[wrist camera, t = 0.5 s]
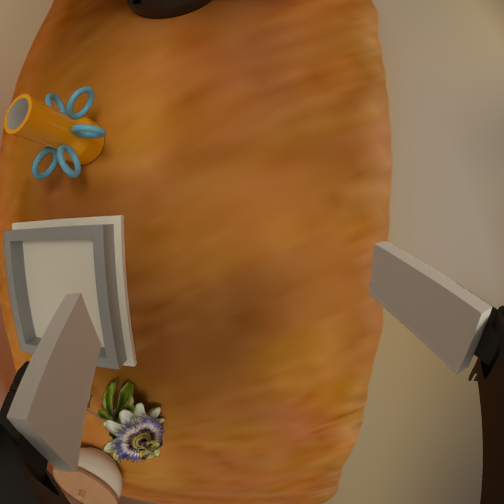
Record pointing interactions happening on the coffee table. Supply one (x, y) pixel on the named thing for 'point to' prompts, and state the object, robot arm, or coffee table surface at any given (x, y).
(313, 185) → the coffee table surface
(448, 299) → the robot arm
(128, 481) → the coffee table surface
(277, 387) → the coffee table surface
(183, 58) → the coffee table surface
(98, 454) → the lidded bowl
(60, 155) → the orange tube
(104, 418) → the passion flower
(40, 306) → the holder tray
